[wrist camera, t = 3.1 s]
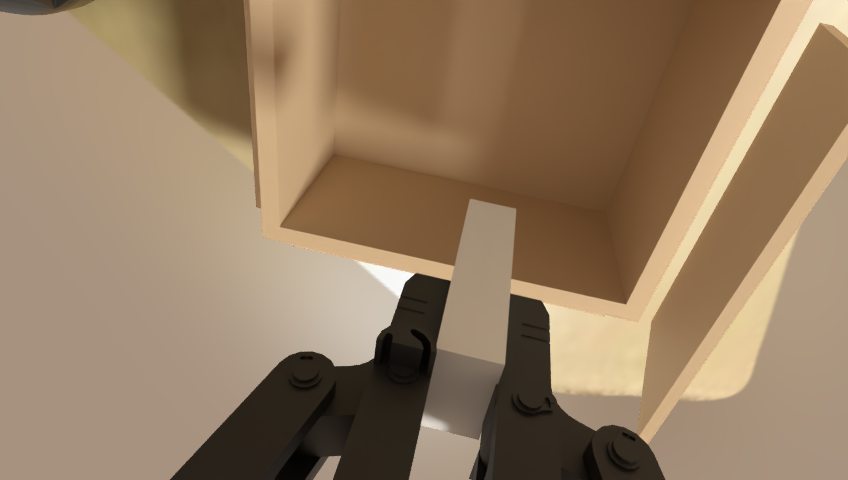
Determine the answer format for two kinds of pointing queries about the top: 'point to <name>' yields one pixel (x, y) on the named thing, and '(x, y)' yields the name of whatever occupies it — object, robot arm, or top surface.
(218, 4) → the top surface
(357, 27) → the open wooden box
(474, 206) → the robot arm
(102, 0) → the top surface
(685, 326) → the flap
